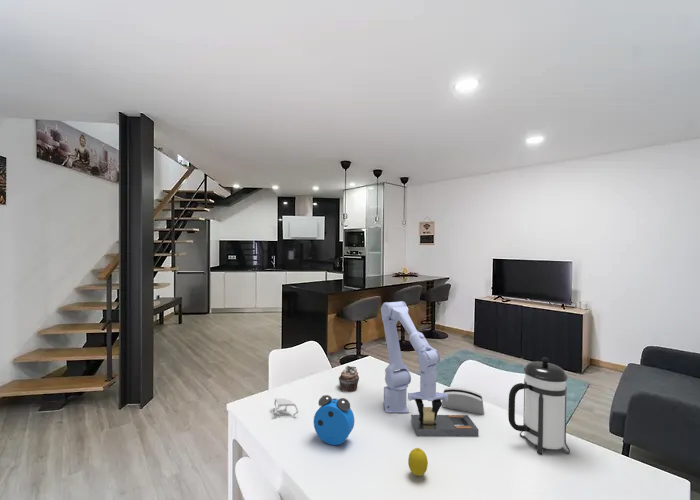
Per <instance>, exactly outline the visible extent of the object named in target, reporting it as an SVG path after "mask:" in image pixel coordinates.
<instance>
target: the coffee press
mask: <svg viewBox="0 0 700 500" xmlns="http://www.w3.org/2000/svg"><path fill="white" fill-rule="evenodd" d="M523 372H524V379H523V380H524V381H523V382H524V383H522V382H521V383H515V384H514V385H513V386H512V387H511V388H510V390H509V392H508V393H509V394H508V409H507V410H508V412H507V415H508V421H509V425H510V427H512V428H513V429H514V430H515V431H518V432H520V433H519V437H520V438H522V439H524V438H526V439H528V441H529V442H531V443H532V444H533V445H536V446H537V448H536V452H537V454H539V455H543V451H544V449H548V450H560V449H561V450H562V451H563V452H564V454H567V455H570V452H571V449H570V447H569V446H568V444H567V403H568V401H567V397H568V396H567V394H568V393H567V391H568V388H567V382H568V381H567V380H568V375H567V373H566V372H565V370H564V369H563V368H562V367H561V366H558V365H557V364H554V363H550V359H549V358H548V357H546V356H543V357H542V358H541V360H540V361H531V362H528V363H526V365H525V367H524V368H523ZM521 390H523V424H522V425H521V424H517V423H516V419H515V418H516V396H517V393H518V392H519V391H521ZM522 433H524V435H522ZM564 446H565V447H566V449H567V450H566V449H565V448H564Z"/></svg>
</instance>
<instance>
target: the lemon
mask: <svg viewBox="0 0 700 500" xmlns="http://www.w3.org/2000/svg"><path fill="white" fill-rule="evenodd" d="M407 461H408V462H407V463H408V468H409V470H410V471H411V473H412V474H413V475H414V476H416V477H420V476H421V477H422V476H423V475H424V474H426V472H427V469H428V467H429V465H428V463H429V462H428V458H427V454H426V452H425V451H424V450H423V449H422V448H419V447H415V448H413V449H412V450H410V453H409V455H408V460H407Z"/></svg>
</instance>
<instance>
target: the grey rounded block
mask: <svg viewBox="0 0 700 500" xmlns="http://www.w3.org/2000/svg"><path fill="white" fill-rule="evenodd" d="M443 393H446V394H447V395H448V401H445V400H441V402H442V406H441V407H442V408H447V409H453V410H458V411H463V412H468V413H469V412H470V413H473V414H480V415H484V414H485V411H484V410H485V409H484V408H485V407H484V402H483V401H484V400H483V395H482V394H481V393H479V392H477V391H474V390H471V389H467V388H461V387H447V388H444V390H443Z"/></svg>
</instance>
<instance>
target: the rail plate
mask: <svg viewBox="0 0 700 500" xmlns="http://www.w3.org/2000/svg"><path fill="white" fill-rule="evenodd" d="M410 421H411V425H412V427H413V429H414V431H415V434H416V437H479V428H478V427H477V425H476V424H475V423H474V421H473V420H472V419H471V417H470V416H469V414H437V416H436V420H435V421H434V426H422V425H421V420H420V416H419V414H411V415H410Z"/></svg>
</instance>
